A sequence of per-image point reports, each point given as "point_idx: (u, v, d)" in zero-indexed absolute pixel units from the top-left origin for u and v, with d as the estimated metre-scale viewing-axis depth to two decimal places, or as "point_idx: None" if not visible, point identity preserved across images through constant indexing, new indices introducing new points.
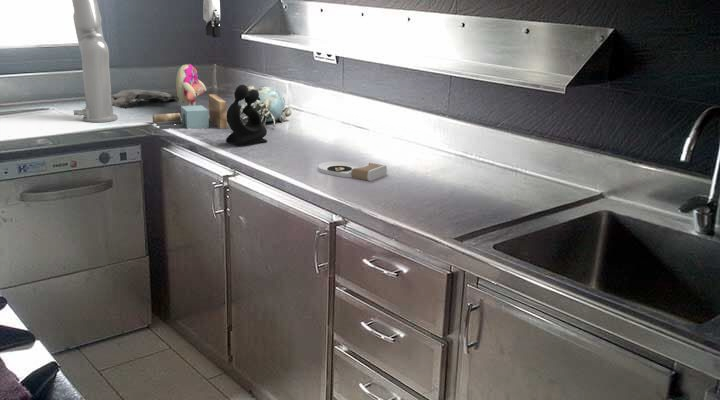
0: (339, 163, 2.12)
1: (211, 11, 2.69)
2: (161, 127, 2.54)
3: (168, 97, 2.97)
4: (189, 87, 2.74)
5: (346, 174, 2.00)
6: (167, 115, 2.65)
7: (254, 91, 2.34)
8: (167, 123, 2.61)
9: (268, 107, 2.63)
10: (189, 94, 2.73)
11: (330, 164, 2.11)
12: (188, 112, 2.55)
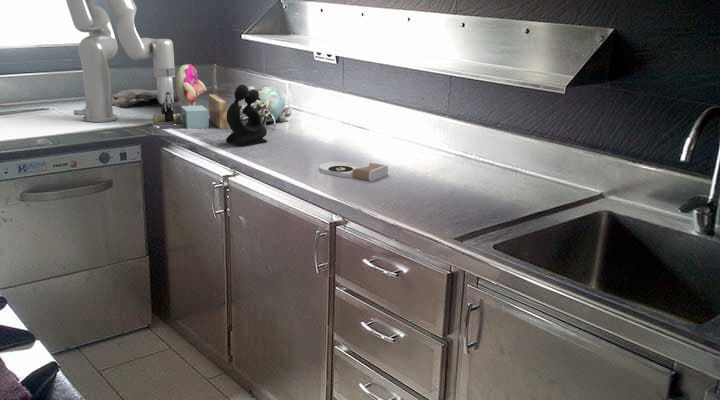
0: (340, 163, 2.12)
1: (163, 94, 2.57)
2: (161, 127, 2.54)
3: None
4: (189, 87, 2.74)
5: (347, 174, 1.99)
6: None
7: (254, 91, 2.34)
8: (167, 123, 2.61)
9: (268, 107, 2.63)
10: (189, 94, 2.73)
11: (331, 164, 2.11)
12: (188, 112, 2.55)
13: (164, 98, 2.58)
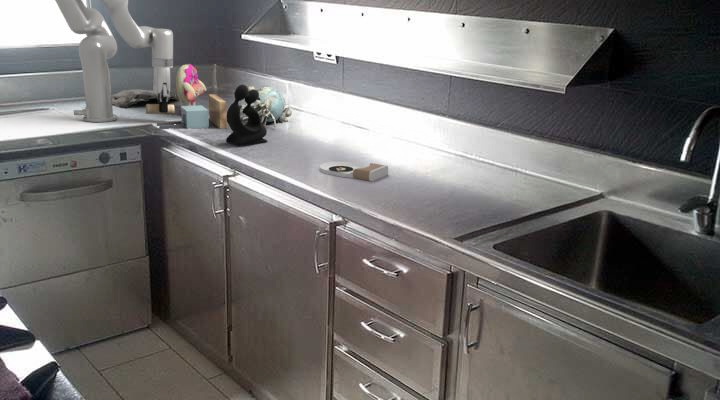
0: (340, 163, 2.12)
1: (160, 84, 2.57)
2: (161, 127, 2.54)
3: (168, 97, 2.96)
4: (189, 87, 2.74)
5: (348, 174, 1.99)
6: None
7: (254, 91, 2.34)
8: (167, 123, 2.61)
9: (268, 107, 2.62)
10: (189, 94, 2.73)
11: (331, 164, 2.11)
12: (188, 112, 2.55)
13: (160, 90, 2.58)
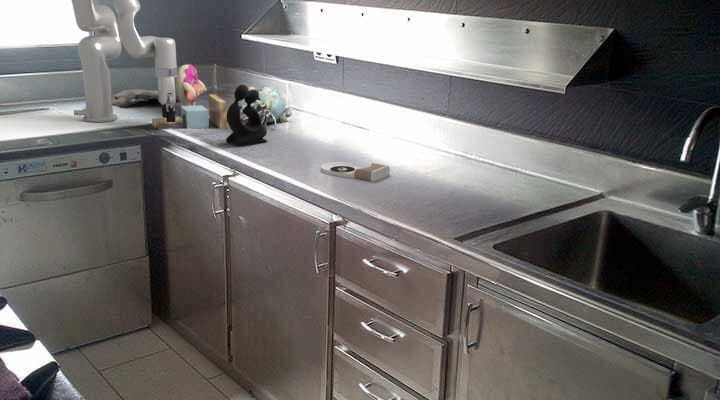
0: (342, 163, 2.12)
1: (165, 94, 2.50)
2: (161, 127, 2.54)
3: None
4: (189, 87, 2.74)
5: (349, 175, 1.99)
6: (167, 122, 2.57)
7: (254, 91, 2.34)
8: None
9: (269, 108, 2.62)
10: (189, 94, 2.73)
11: (333, 164, 2.11)
12: (188, 112, 2.55)
13: (166, 97, 2.51)
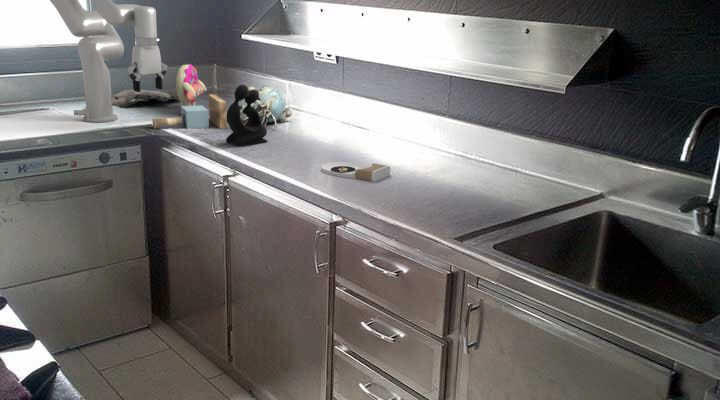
0: (342, 164, 2.12)
1: (132, 63, 2.47)
2: (161, 127, 2.54)
3: (167, 97, 2.95)
4: (189, 87, 2.74)
5: (350, 175, 1.99)
6: None
7: (254, 91, 2.34)
8: None
9: (269, 108, 2.62)
10: (189, 94, 2.73)
11: (333, 165, 2.11)
12: (188, 112, 2.55)
13: None
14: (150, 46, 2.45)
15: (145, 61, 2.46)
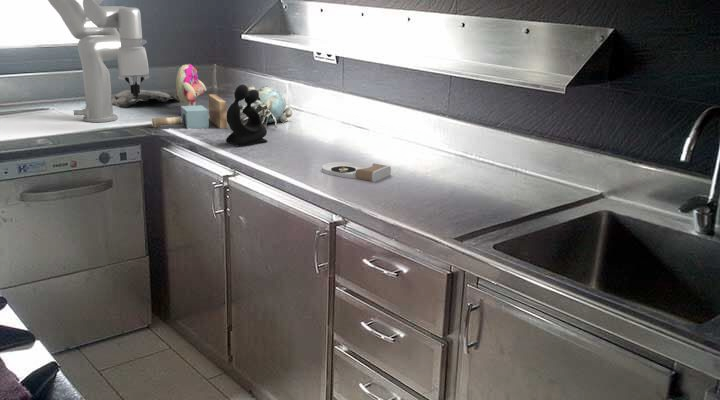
0: (343, 164, 2.12)
1: None
2: (161, 127, 2.54)
3: (167, 98, 2.95)
4: (189, 87, 2.74)
5: (350, 175, 1.99)
6: (167, 122, 2.57)
7: (254, 91, 2.34)
8: None
9: (269, 108, 2.62)
10: (189, 94, 2.73)
11: (334, 165, 2.11)
12: (188, 112, 2.55)
13: None
14: (130, 47, 2.42)
15: (126, 62, 2.44)
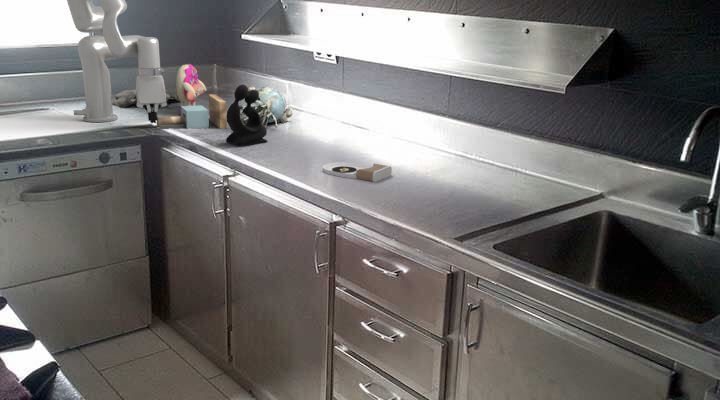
0: (343, 164, 2.11)
1: (136, 92, 2.52)
2: (161, 127, 2.54)
3: (166, 98, 2.95)
4: (189, 87, 2.74)
5: (351, 175, 1.99)
6: (172, 120, 2.58)
7: (254, 91, 2.34)
8: None
9: (270, 108, 2.61)
10: (189, 94, 2.73)
11: (334, 165, 2.11)
12: (188, 112, 2.55)
13: None
14: (148, 76, 2.47)
15: (144, 90, 2.50)
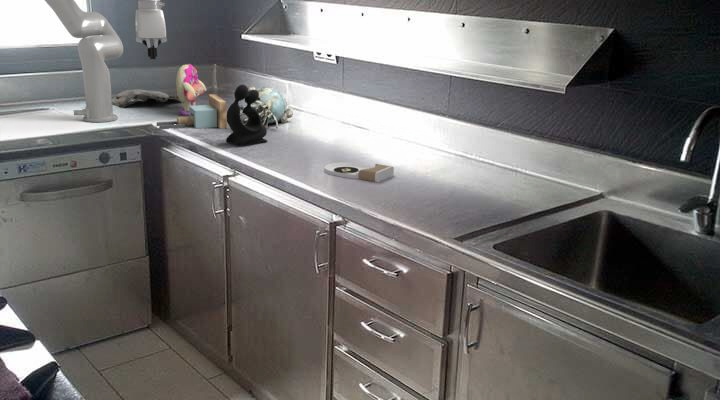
0: (345, 164, 2.11)
1: None
2: (161, 127, 2.54)
3: (166, 98, 2.94)
4: (189, 87, 2.74)
5: (353, 175, 1.99)
6: (192, 120, 2.61)
7: (254, 91, 2.34)
8: (167, 123, 2.61)
9: (270, 108, 2.61)
10: (189, 94, 2.73)
11: (336, 165, 2.10)
12: (197, 112, 2.56)
13: None
14: (148, 9, 2.41)
15: (144, 24, 2.43)
